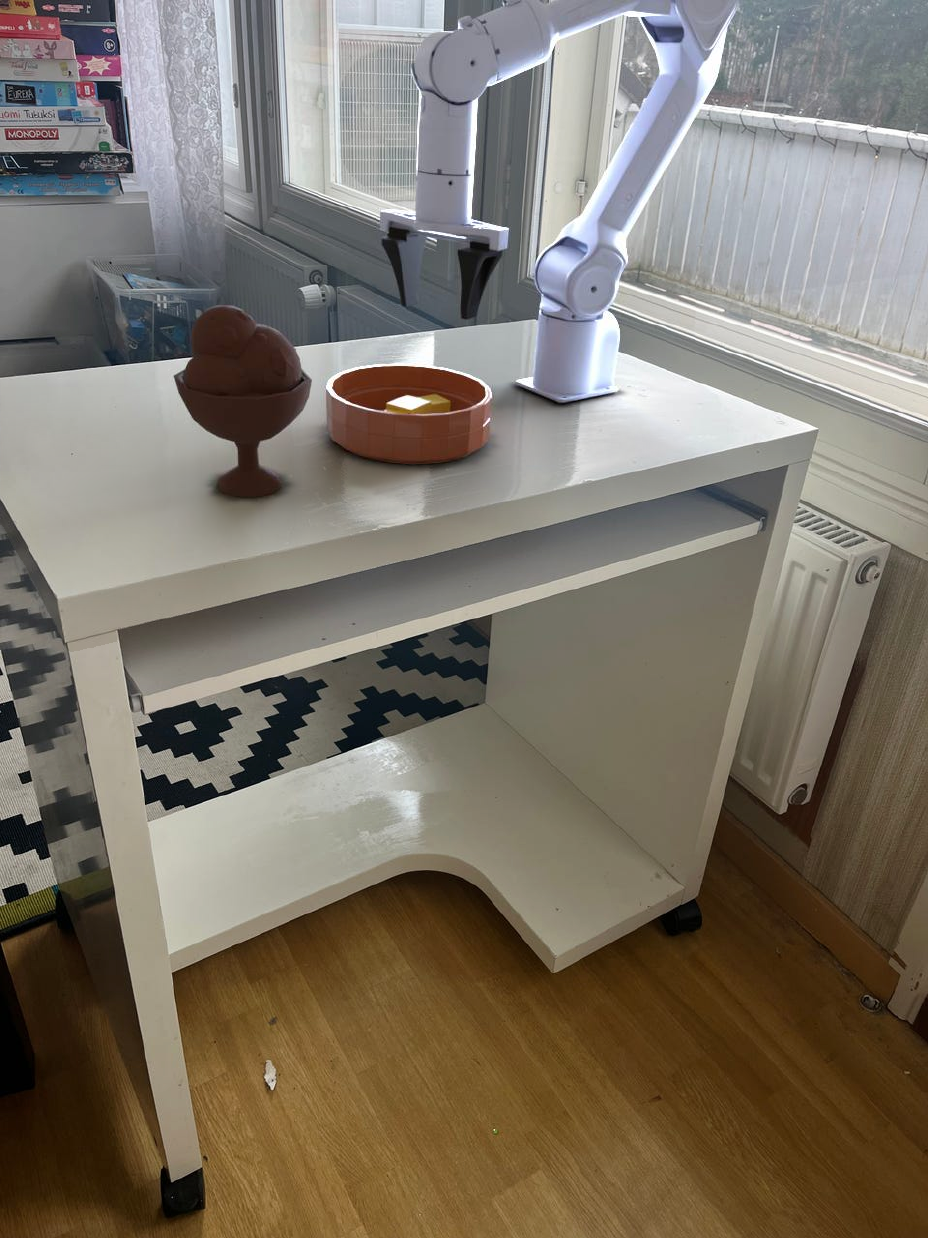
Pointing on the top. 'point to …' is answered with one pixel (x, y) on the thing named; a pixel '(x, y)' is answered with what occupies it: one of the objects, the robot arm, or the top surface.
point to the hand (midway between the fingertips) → (438, 311)
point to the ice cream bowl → (242, 390)
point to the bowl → (407, 436)
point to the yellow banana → (419, 405)
